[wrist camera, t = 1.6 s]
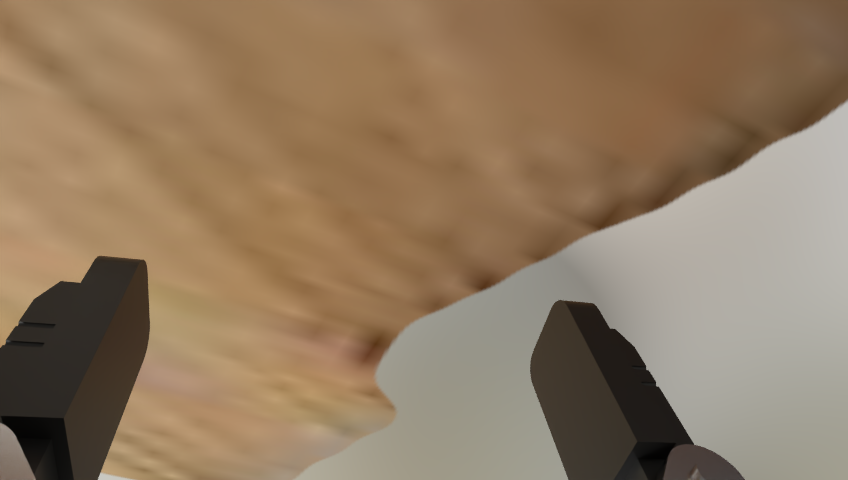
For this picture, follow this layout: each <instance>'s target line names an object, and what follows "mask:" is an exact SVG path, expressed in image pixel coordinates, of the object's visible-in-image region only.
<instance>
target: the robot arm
mask: <svg viewBox="0 0 848 480" xmlns="http://www.w3.org/2000/svg"><path fill="white" fill-rule="evenodd" d="M149 331H150V319H149V297H148V274H147V265H146V262H145V261H144V260H139V259H128V258H118V257H107V256H98V257H97V258H96V259H95V260H94V262H93V263H92V265H91V267H90V268H89V270H88V272H87V273H86V275H85V277H84V278H83V280H82V282H81V283H75V282H63V281H60V282H59V283H57V284H56V285H54V286H53V287H51V288H50V289H49V290H47V291H46V292H44V293H43V294H41V295H40V296H38V297H37V298H35V299H34V300H33V302H32V303H31V304H30V306H29V307H28V309H27V310H26V312H25V313H24V315H23V316H22V318H21V319H20V321H19V325H18V326H15V328H14V329H13V331H12V332H11V334H10V335H9V337H8V338H7V339H6V344H5V345H2V347H1V348H0V480H98V477H99V475H100V472H101V469H102V467H103V464H104V462H105V459H106V456H107V454H108V451H109V449H110V446H111V443H112V441H113V438H114V436H115V433H116V430H117V428H118V425H119V423H120V420H121V417H122V415H123V412H124V410H125V407H126V404H127V402H128V399H129V397H130V394H131V391H132V389H133V386H134V384H135V381H136V378H137V376H138V373H139V371H140V368H141V365H142V363H143V360H144V357H145V354H146V350H147V346H148V340H149ZM530 366H531V367H530V372H531V380H532V383H533V386H534V389H535V391H536V394H537V397H538V399H539V402H540V404H541V407H542V410H543V413H544V415H545V418H546V421H547V423H548V426H549V429H550V431H551V434H552V437H553V439H554V442H555V444H556V447H557V450H558V453H559V455H560V458H561V461H562V463H563V466H564V468H565V471H566V474H567V477H568V479H569V480H745V479H744V478H743V477H742V475H741V474H740V473H739V472H738V471H737V469H736V468H735V467H734V466H733V465H731V464H730V463H729V462H728V461H727V460H725V459H724V458H722V457H721V456H720V455H718V454H716V453H715V452H713V451H711V450H708V449H706V448H704V447H701V446H696V445H694V443H693V442H692V440H691V439H690V437H689V436H688V434H687V432H686V430H685V429H684V427H683V425H682V424H681V422H680V421H679V419H678V417H677V416H676V414H675V412H674V411H673V409H672V407H671V406H670V404H669V403H668V401H667V399H666V398H665V396H664V394H663V393H662V391H661V390H660V388H659V387H656V381H655V380H654V378H653V377H652V375H651V374H650V372H649V371H648V370H646V365H645V363H644V362H643V360H642V359H641V357H640V355H639V354H638V352H637V351H636V349H635V347H634V346H633V345H632V344H631V343H630V342H628V341H627V340H626V339H625V338H624V337H623V336H622V335H621V334H620V333H619V332H618V331H617V330H615V329H610V328H609V326H608V325H607V323H606V321H605V319H604V318H603V316H602V314H601V313H600V311H599V309H598V308H597V306H595V305H594V304H593V303H584V302H573V301H562V300H559V301H557V302H555V303H554V305H553V306H552V308H551V310H550V313H549V315H548V318H547V320H546V322H545V325H544V327H543V330H542V332H541V334H540V337H539V339H538V342H537V344H536V346H535V349H534V351H533V354H532V358H531V365H530Z"/></svg>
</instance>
